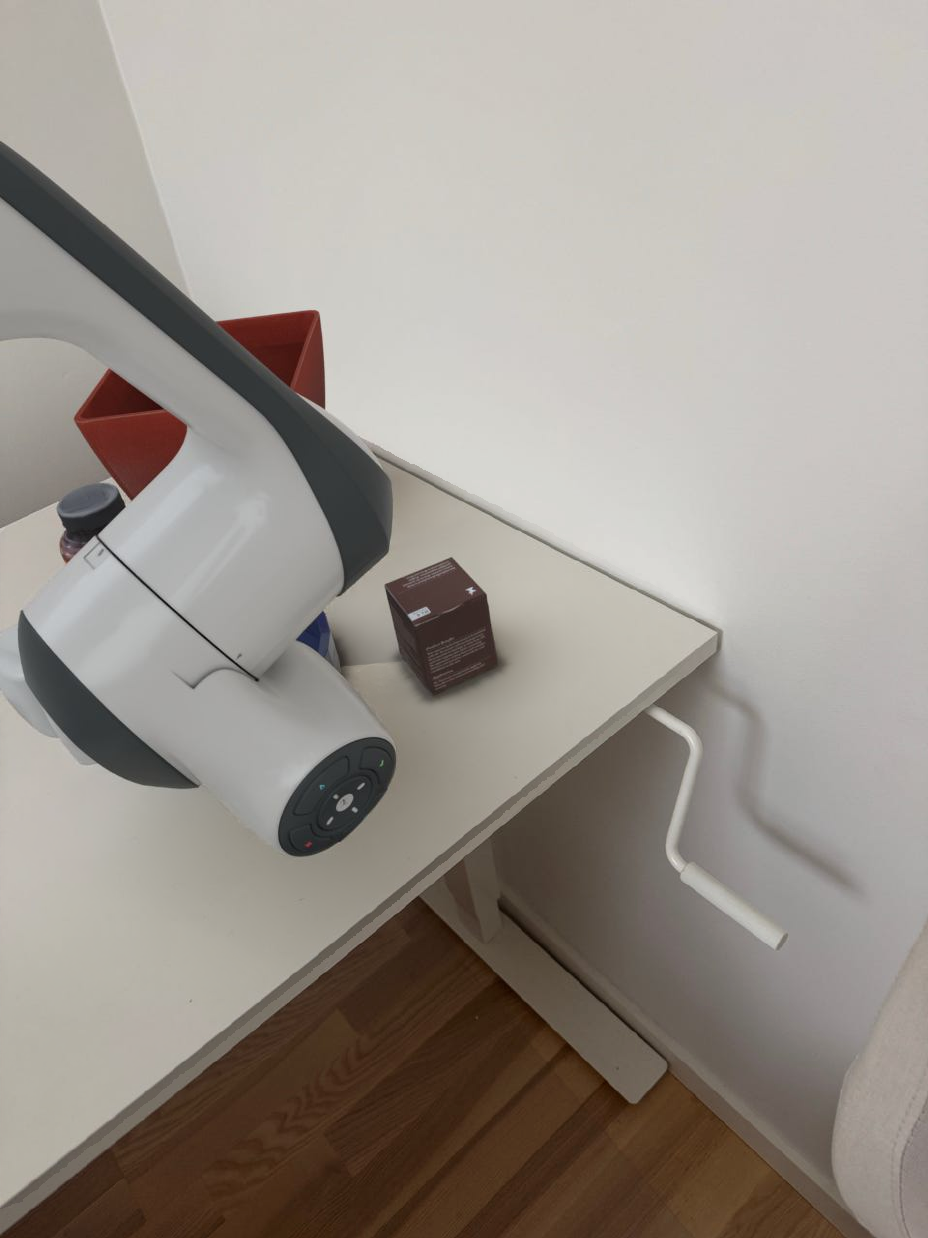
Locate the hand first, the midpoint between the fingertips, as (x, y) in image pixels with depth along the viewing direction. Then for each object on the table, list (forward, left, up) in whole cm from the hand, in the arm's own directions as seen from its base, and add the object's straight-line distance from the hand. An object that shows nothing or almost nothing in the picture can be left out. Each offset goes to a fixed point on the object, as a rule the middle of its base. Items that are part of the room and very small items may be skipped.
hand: (112, 560), depth 64 cm
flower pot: (+26, +14, -16) cm, 34 cm away
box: (+13, -16, -16) cm, 26 cm away
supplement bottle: (0, -1, -6) cm, 6 cm away
